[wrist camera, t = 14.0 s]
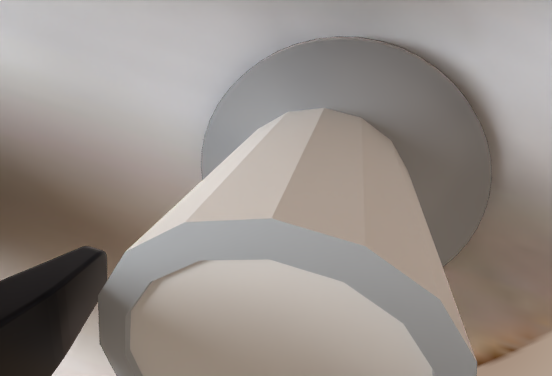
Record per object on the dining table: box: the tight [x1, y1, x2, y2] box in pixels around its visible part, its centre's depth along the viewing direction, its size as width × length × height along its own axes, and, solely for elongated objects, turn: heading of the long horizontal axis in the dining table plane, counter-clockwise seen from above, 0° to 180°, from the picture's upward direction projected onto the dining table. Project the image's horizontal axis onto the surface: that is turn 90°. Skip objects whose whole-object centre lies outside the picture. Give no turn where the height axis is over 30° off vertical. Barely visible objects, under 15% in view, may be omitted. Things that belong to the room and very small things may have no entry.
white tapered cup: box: [98, 108, 477, 376], centre depth 10 cm, size 7×7×7 cm
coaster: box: [201, 37, 492, 267], centre depth 13 cm, size 9×9×1 cm
